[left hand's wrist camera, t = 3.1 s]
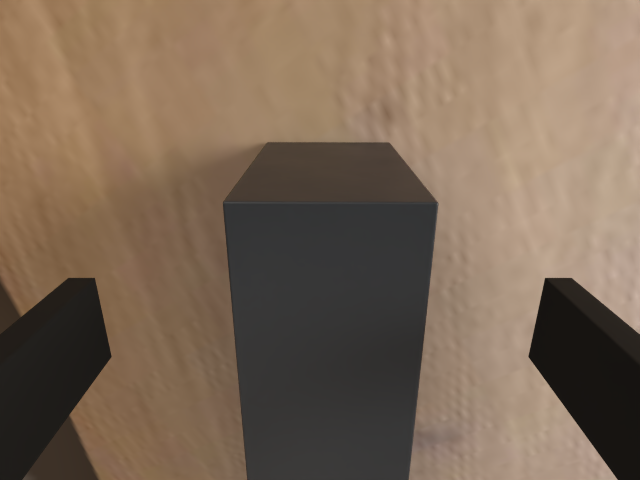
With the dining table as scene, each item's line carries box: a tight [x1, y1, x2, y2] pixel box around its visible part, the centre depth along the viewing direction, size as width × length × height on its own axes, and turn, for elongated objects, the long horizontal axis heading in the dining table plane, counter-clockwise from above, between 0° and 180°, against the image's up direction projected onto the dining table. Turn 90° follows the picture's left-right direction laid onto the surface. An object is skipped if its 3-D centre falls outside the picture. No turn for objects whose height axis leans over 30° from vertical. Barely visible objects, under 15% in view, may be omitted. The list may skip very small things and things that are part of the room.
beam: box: [223, 142, 438, 480], centre depth 20 cm, size 24×6×9 cm, turn 0°
